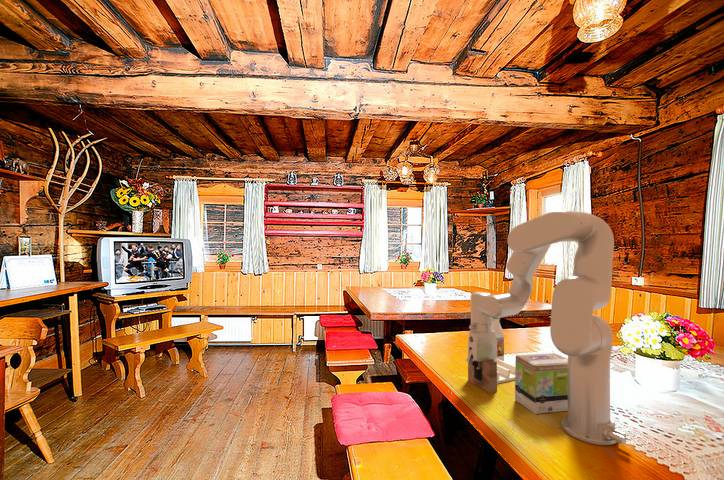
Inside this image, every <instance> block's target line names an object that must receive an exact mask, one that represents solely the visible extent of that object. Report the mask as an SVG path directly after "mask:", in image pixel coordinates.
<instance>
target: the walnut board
mask: <svg viewBox="0 0 724 480" xmlns="http://www.w3.org/2000/svg"><path fill="white" fill-rule="evenodd" d="M472 360H473V359H472ZM476 363H477V361H476ZM480 369H482V380H481V381H479V380H478V379H476V378H474V367H473V366H472V365H471V364H470V363H468V362H467V381H468V382H470V383H472V384H473V385H476V386H477V387H479V388H481V389H483V390H484V391H486V392H488V393H490V394H492V393H495V392H498V384H497V362H496V361H493V360H485V361H482V362H481V367H480Z"/></svg>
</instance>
